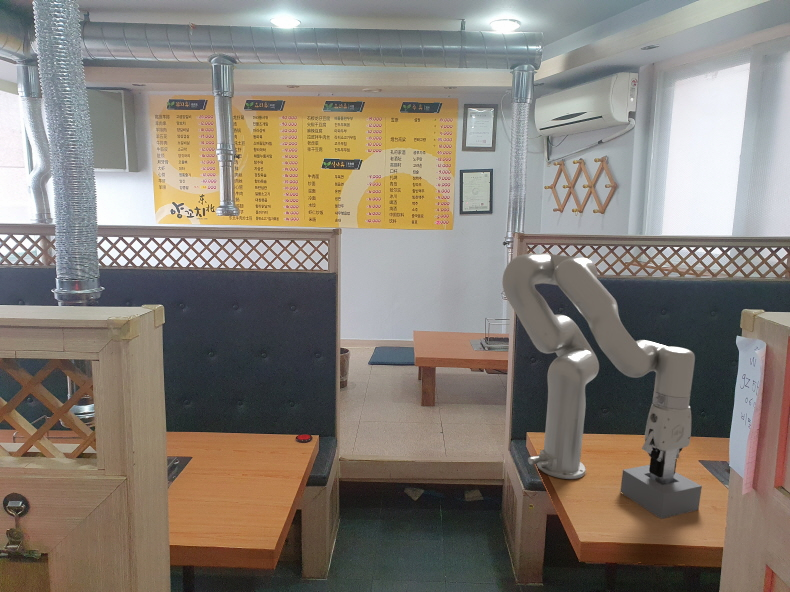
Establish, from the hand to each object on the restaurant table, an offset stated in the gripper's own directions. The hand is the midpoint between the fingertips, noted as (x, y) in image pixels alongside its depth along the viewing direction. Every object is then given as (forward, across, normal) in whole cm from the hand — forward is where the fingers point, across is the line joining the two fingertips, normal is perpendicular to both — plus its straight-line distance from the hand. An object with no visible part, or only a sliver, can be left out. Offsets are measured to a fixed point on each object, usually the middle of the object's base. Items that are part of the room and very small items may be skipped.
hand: (661, 472), depth 125 cm
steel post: (+4, 0, 0) cm, 4 cm away
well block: (+7, 0, 0) cm, 7 cm away
